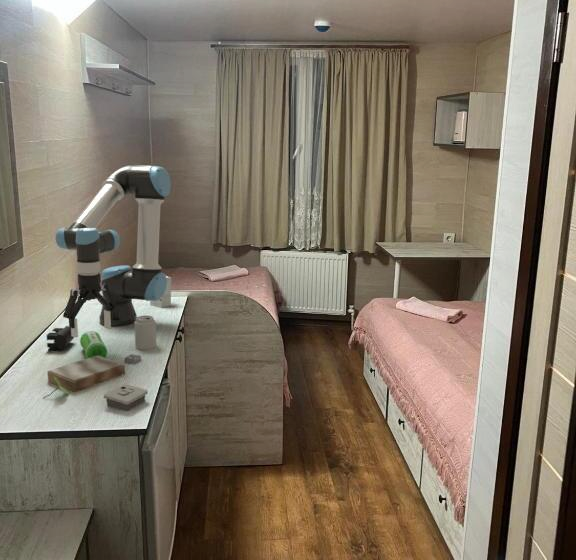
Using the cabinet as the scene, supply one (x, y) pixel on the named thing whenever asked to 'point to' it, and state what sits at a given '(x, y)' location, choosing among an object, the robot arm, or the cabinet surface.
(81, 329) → the cabinet surface
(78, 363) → the stand
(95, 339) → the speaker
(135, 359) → the grey square block
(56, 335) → the end cap
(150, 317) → the can
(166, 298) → the skincare box
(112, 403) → the electrical switch
